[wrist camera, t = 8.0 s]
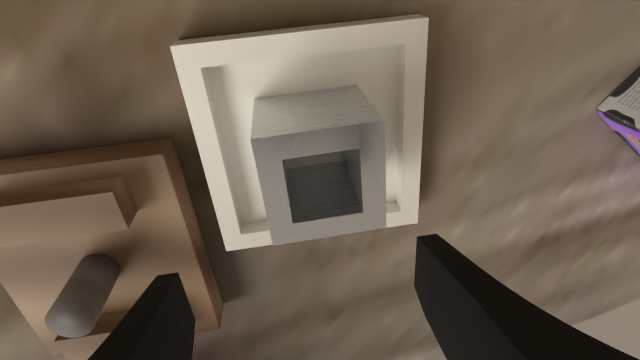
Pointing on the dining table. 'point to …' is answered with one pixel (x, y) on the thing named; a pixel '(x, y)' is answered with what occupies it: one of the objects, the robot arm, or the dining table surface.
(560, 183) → the dining table surface
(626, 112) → the candy box
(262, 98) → the sleeve
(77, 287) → the vise block
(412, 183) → the dish
